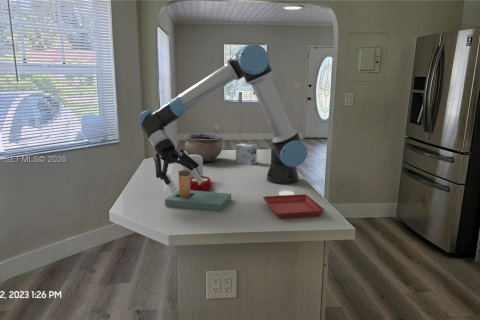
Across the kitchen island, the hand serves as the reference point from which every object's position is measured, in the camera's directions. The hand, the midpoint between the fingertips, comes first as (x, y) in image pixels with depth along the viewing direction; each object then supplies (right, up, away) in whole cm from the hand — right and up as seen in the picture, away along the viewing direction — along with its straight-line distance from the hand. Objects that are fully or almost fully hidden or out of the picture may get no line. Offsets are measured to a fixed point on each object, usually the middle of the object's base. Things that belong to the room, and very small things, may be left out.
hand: (188, 186), depth 143 cm
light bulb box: (+23, +8, +71) cm, 75 cm away
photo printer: (-3, +1, +33) cm, 34 cm away
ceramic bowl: (-1, +10, +76) cm, 76 cm away
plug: (-2, -6, +3) cm, 7 cm away
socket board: (+4, -6, +1) cm, 8 cm away
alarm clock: (+2, -3, +20) cm, 21 cm away
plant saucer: (+39, -9, -6) cm, 41 cm away
